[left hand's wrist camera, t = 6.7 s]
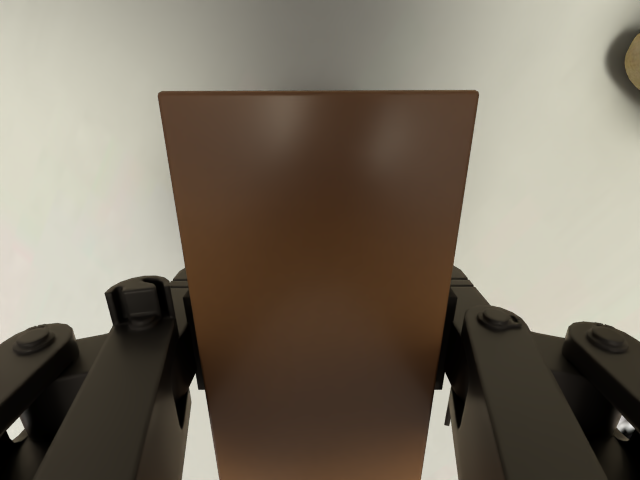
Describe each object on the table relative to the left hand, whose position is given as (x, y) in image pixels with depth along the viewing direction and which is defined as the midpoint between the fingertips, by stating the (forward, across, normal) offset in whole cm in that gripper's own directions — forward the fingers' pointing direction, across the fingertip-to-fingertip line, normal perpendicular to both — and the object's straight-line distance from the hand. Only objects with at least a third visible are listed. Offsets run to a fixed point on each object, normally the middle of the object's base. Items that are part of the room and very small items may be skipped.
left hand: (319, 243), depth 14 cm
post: (0, 0, -22) cm, 22 cm away
